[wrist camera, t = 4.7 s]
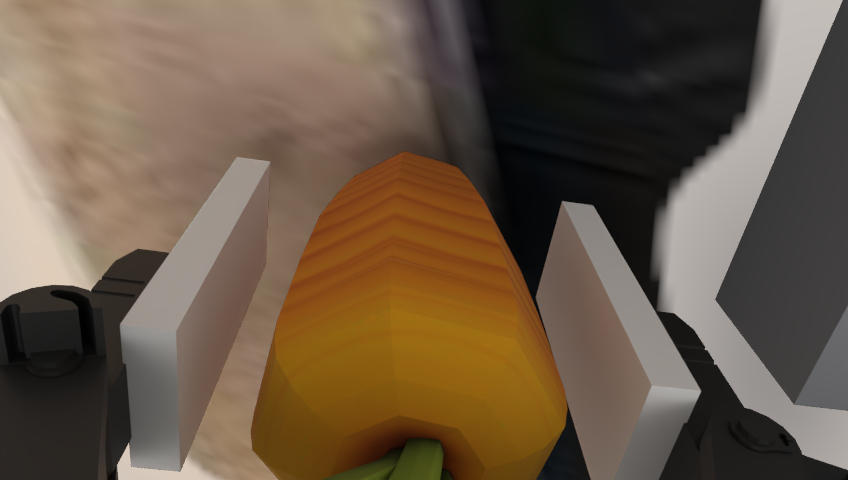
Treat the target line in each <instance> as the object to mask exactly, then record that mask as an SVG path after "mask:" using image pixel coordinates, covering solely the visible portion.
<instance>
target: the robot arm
mask: <svg viewBox="0 0 848 480" xmlns="http://www.w3.org/2000/svg"><path fill="white" fill-rule="evenodd" d="M269 182H270V161H263V160H256V159H248V158H241V157H236V159H235V160H234V162H233V163H232V165H231V166H230V167H229V169H228V170H227V172H226V173H225V175H224V176H223V177H222V179H221V180H220V182H219V183H218V185H217V186H216V187H215V189H214V190H213V192H212V193H211V195H210V196H209V197H208V199H207V200H206V202H205V203H204V205H203V206H202V208H201V209H200V210H199V212H198V213H197V215H196V216H195V218H194V219H193V220H192V222H191V223H190V225H189V226H188V228H187V229H186V230H185V232H184V233H183V235H182V236H181V238H180V239H179V240H178V242H177V243H176V245H175V246H174V248H173V249H172V250H171V252H170V253H166V252H158V251H150V250H142V249H137V250H135V251H133V252H131V253H129V254H127V255H126V256H124V257H122V258H120V259H118V260H116V261H115V262H114V263H113V264H112V266H111V267H110V268H109V269H108V270H107V272H106V273H105V274H104V275H103V276H102V280H99V281H98V282H97V284H96V285H95V286H94V287H93V288H92V290H91V291H89V290H86V289H83V288H79V287H75V286H64V285H50V286H43V287H36V288H31V289H28V290H25V291H22V292H19V293H16V294H13V295H11V296H10V297H8V298H6V299H5V300H3V301H2V302H0V480H118V472H117V464H118V462H119V460H120V458H121V456H122V454H123V453H124V451H125V449H126V447H127V445H128V443H129V445H130V457H131V467H138V468H148V469H159V470H169V471H179V472H180V471H181V469H182V467H183V464H184V462H185V459H186V457H187V454H188V452H189V450H190V447H191V445H192V442H193V440H194V437H195V435H196V433H197V430H198V428H199V425H200V423H201V420H202V418H203V416H204V413H205V411H206V408H207V406H208V403H209V401H210V399H211V396H212V394H213V391H214V389H215V386H216V384H217V382H218V379H219V377H220V374H221V372H222V369H223V367H224V365H225V362H226V360H227V357H228V355H229V352H230V350H231V348H232V345H233V343H234V340H235V338H236V336H237V333H238V331H239V328H240V326H241V323H242V321H243V319H244V316H245V314H246V311H247V309H248V306H249V304H250V302H251V299H252V297H253V294H254V292H255V289H256V287H257V285H258V282H259V280H260V277H261V275H262V272H263V270H264V268H265V265H266V250H267V227H268V205H269ZM536 300H537V303H538V307H539V310H540V313H541V317H542V320H543V323H544V327H545V330H546V333H547V337H548V340H549V343H550V346H551V350H552V353H553V356H554V360H555V363H556V366H557V369H558V372H559V375H560V378H561V381H562V383H563V386H564V389H565V395H566V399H567V403H568V406H569V409H570V412H571V416H572V419H573V422H574V426H575V429H576V432H577V436H578V439H579V442H580V445H581V449H582V452H583V455H584V459H585V462H586V465H587V469H588V472H589V475H590V479H591V480H848V470H846V469H843V468H840V467H837V466H833V465H831V464H827V463H825V462H821V461H819V460H815V459H813V458H810V457H807V456H804V455H802V453H801V450H800V448H799V447H798V444H797V442H796V440H795V439H794V438H793V437H792V436H791V435H790V434H789V433H788V432H787V431H786V430H785V429H784V428H783V427H782V426H781V425H779V424H778V423H776V422H775V421H773V420H772V419H770V418H769V417H767V416H765V415H762V414H760V413H758V412H756V411H753V410H751V409H747V408H744V406H743V405H742V403H741V402H740V400H739V399H738V397H737V396H736V394H735V393H734V391H733V389H732V388H731V386H730V385H729V383H728V382H727V380H726V379H725V377H724V376H723V374H722V373H721V371H720V369H719V368H718V366H717V365H714V360H713V359H712V357H711V356H710V354H709V353H708V351H707V350H705V346H704V345H703V343H702V342H701V340H700V339H699V337H698V335H697V334H696V332H695V331H694V330H693V329H692V328H691V327H690V326H689V325H687V324H686V323H685V322H684V321H683V320H681V319H680V318H679V317H678V316H677V315H675V314H674V313H667V312H659V311H654V309H653V307H652V306H651V304H650V302H649V300H648V299H647V297H646V295H645V294H644V292H643V290H642V288H641V287H640V285H639V283H638V282H637V280H636V278H635V276H634V275H633V273H632V271H631V270H630V268H629V266H628V264H627V263H626V261H625V259H624V258H623V256H622V254H621V252H620V251H619V249H618V247H617V246H616V244H615V242H614V240H613V239H612V237H611V235H610V234H609V232H608V230H607V228H606V227H605V225H604V223H603V222H602V220H601V218H600V216H599V215H598V213H597V211H596V210H595V208H594V206H593V205H586V204H579V203H572V202H564V201H562V203H561V207H560V211H559V214H558V218H557V222H556V225H555V229H554V233H553V236H552V240H551V244H550V247H549V251H548V255H547V258H546V262H545V266H544V269H543V273H542V276H541V280H540V284H539V287H538V291H537V295H536Z"/></svg>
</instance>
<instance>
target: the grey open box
mask: <svg viewBox="0 0 848 480" xmlns="http://www.w3.org/2000/svg"><path fill="white" fill-rule="evenodd" d="M716 301H717V303H718V304H719V305H720V306H721V308H722V309H723V311H724V312H725V313H726V315H727V316H728V317H729V318H730V320H731V321H732V322H733V324H734V325H735V326H736V328H737V329H738V330H739V332H740V333H741V334H742V336H743V337H744V338H745V340H746V341H747V342H748V344H749V345H750V346H751V348H752V349H753V350H754V352H755V353H756V354H757V355H758V357H759V358H760V360H761V361H762V362H763V363H764V365H765V366H766V368H767V369H768V370H769V372H770V373H771V374H772V376H773V377H774V378H775V380H776V381H777V382H778V384H779V385H780V386H781V388H782V389H783V390H784V392H785V393H786V394H787V396H788V397H789V398H790V400H791V401H792V402H793V404H795V405H804V406H812V407H820V408H829V409H839V410H847V411H848V0H843V1H842V4H841V6H840V8H839V11H838V13H837V15H836V18H835V20H834V23H833V25H832V27H831V30H830V32H829V34H828V36H827V39H826V41H825V44H824V46H823V48H822V51H821V53H820V55H819V58H818V60H817V62H816V65H815V67H814V69H813V72H812V74H811V76H810V79H809V81H808V83H807V86H806V88H805V90H804V93H803V95H802V97H801V100H800V102H799V104H798V107H797V109H796V111H795V114H794V116H793V118H792V121H791V124H790V126H789V128H788V130H787V133H786V135H785V137H784V140H783V142H782V144H781V147H780V149H779V151H778V154H777V156H776V158H775V161H774V163H773V166H772V168H771V170H770V172H769V175H768V177H767V180H766V182H765V184H764V187H763V189H762V191H761V193H760V196H759V198H758V201H757V203H756V205H755V208H754V210H753V212H752V215H751V217H750V219H749V222H748V224H747V226H746V229H745V231H744V233H743V236H742V238H741V240H740V243H739V245H738V248H737V250H736V252H735V255H734V257H733V259H732V262H731V264H730V266H729V268H728V271H727V273H726V276H725V278H724V280H723V283H722V285H721V287H720V290H719V292H718V294H717V297H716Z"/></svg>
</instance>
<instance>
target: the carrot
mask: <svg viewBox="0 0 848 480" xmlns="http://www.w3.org/2000/svg"><path fill="white" fill-rule="evenodd" d="M566 415H567V401H566V395H565V389H564V386H563V383H562V381H561V378H560V375H559V372H558V369H557V366H556V363H555V360H554V357H553V355H552V352H551V349H550V346H549V343H548V340H547V337H546V334H545V331H544V328H543V326H542V323H541V320H540V318H539V315H538V313H537V310H536V308H535V305H534V303H533V300H532V298H531V295H530V293H529V290H528V288H527V285H526V283H525V280H524V278H523V275H522V273H521V270H520V268H519V266H518V264H517V263H516V261H515V259H514V257H513V255H512V253H511V251H510V249H509V247H508V245H507V244H506V242H505V240H504V238H503V236H502V234H501V232H500V230H499V228H498V226H497V224H496V223H495V221H494V219H493V217H492V215H491V213H490V211H489V209H488V207H487V205H486V204H485V202H484V200H483V199H482V197H481V196H480V195H479V193H478V192H477V190H476V189H475V187H474V186H473V184H472V183H471V182H470V180H469V179H468V178H467V177H466V176H465V175H464V174H463V173H462V172H461V171H460V169H459V168H458V167H455V166H452V165H450V164H447V163H444V162H441V161H437V160H434V159H430V158H427V157H423V156H420V155H417V154H413V153H410V152H406V151H404V152H402V153H400V154H398V155H396V156H394V157H392V158H390V159H388V160H386V161H384V162H382V163H380V164H378V165H376V166H374V167H372V168H370V169H368V170H366V171H364V172H362V173H360V174H358V175H356V176H354V177H353V178H352V179H351V180H350V181H349V182H348V183H347V184H346V185H345V186H344V187H343V188H342V189H341V190H340V191H339V192H338V193H337V195H336V196H335V197H334V199H333V200H332V201H331V202H330V204H329V205H328V206H327V207H326V209H325V210H324V211H323V212H322V214H321V215H320V216H319V219H318V221H317V223H316V225H315V228H314V230H313V232H312V234H311V237H310V239H309V241H308V243H307V246H306V248H305V250H304V252H303V255H302V257H301V259H300V262H299V264H298V267H297V270H296V272H295V275H294V278H293V280H292V283H291V286H290V288H289V291H288V294H287V296H286V299H285V302H284V304H283V307H282V309H281V312H280V315H279V317H278V320H277V324H276V328H275V332H274V336H273V340H272V344H271V348H270V352H269V356H268V360H267V364H266V368H265V372H264V376H263V380H262V384H261V388H260V392H259V396H258V400H257V404H256V407H255V411H254V416H253V422H252V427H251V439H252V449H253V451H254V452H255V453H256V454H257V456H258V457H259V458H260V459H261V460H262V461H263V462H264V463H265V465H266V466H267V467H268V468H269V469H270V470H271V471H272V472H273V474H274V475H275V476H276V477H277V478H278V479H279V480H536V479H537V477H538V475H539V473H540V471H541V470H542V468H543V466H544V464H545V462H546V460H547V459H548V457H549V455H550V453H551V451H552V450H553V448H554V446H555V444H556V442H557V440H558V439H559V437H560V435H561V433H562V431H563V430H564V428H565V423H566Z"/></svg>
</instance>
